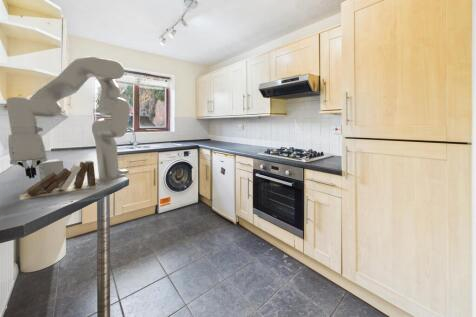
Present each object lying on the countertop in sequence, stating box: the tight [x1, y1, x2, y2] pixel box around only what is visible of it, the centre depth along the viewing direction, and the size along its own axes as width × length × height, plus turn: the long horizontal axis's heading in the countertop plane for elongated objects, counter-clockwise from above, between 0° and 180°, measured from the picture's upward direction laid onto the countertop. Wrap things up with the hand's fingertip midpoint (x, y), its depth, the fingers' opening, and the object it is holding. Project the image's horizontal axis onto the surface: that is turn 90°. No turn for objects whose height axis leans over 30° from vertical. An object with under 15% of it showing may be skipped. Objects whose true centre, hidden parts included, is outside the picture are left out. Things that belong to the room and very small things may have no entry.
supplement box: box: [37, 158, 65, 187], centre depth 102 cm, size 7×7×13 cm
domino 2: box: [58, 163, 81, 191], centre depth 97 cm, size 2×5×11 cm, turn 46°
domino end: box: [25, 172, 59, 197], centre depth 91 cm, size 2×5×11 cm
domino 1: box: [42, 167, 72, 193], centre depth 94 cm, size 2×5×11 cm
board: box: [18, 183, 100, 201], centre depth 95 cm, size 26×9×1 cm, turn 136°
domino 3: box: [73, 161, 88, 188], centre depth 100 cm, size 2×5×11 cm, turn 48°
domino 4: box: [84, 160, 97, 186], centre depth 102 cm, size 2×5×11 cm, turn 46°
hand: (31, 177), depth 88 cm, fingers closed
